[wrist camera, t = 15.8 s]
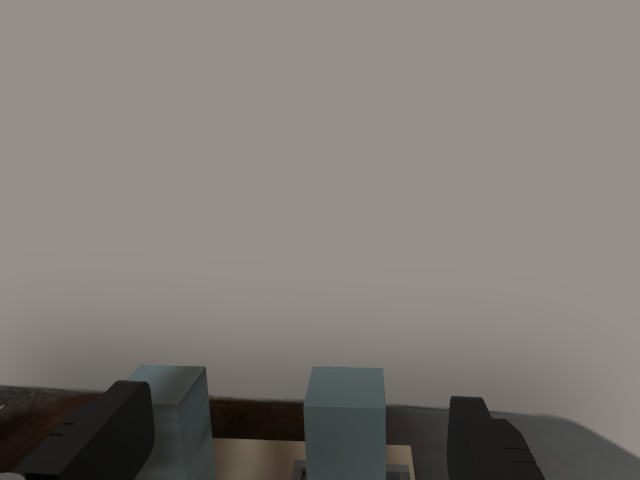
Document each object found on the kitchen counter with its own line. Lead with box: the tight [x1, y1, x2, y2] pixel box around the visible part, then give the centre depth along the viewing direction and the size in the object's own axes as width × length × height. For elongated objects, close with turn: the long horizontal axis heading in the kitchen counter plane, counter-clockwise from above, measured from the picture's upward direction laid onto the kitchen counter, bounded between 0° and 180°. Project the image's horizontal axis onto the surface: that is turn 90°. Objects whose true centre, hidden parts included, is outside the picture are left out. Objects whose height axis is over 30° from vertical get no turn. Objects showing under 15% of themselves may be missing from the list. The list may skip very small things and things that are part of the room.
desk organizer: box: [126, 365, 415, 480], centre depth 32 cm, size 23×16×12 cm
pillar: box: [304, 367, 386, 480], centre depth 31 cm, size 5×5×10 cm
